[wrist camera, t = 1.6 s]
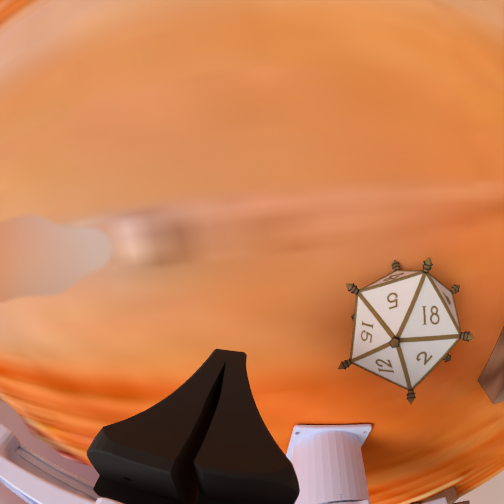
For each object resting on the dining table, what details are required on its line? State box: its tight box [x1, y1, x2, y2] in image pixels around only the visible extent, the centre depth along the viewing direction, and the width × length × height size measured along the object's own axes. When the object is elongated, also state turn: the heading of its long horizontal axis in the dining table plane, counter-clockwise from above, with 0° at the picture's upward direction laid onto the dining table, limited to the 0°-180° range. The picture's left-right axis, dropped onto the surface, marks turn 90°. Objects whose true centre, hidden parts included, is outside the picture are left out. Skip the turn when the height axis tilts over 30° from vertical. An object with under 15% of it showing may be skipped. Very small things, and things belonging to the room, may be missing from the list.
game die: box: [338, 257, 474, 404], centre depth 16 cm, size 9×8×10 cm
